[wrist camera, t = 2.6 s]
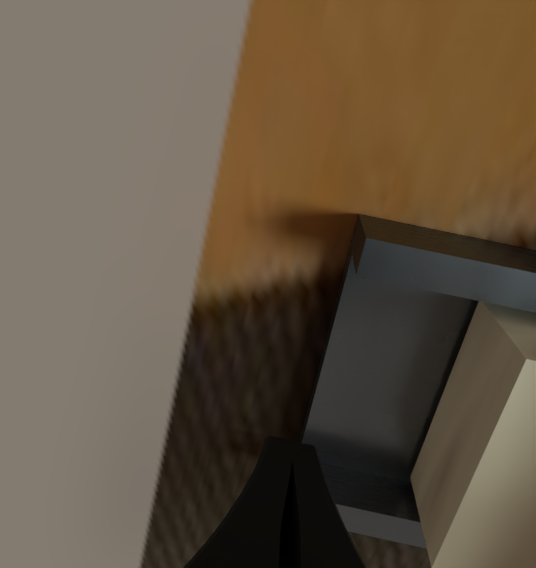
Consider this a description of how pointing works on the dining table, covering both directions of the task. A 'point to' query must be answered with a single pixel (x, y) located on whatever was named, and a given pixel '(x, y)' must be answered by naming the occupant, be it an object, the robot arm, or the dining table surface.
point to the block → (483, 449)
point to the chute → (399, 360)
